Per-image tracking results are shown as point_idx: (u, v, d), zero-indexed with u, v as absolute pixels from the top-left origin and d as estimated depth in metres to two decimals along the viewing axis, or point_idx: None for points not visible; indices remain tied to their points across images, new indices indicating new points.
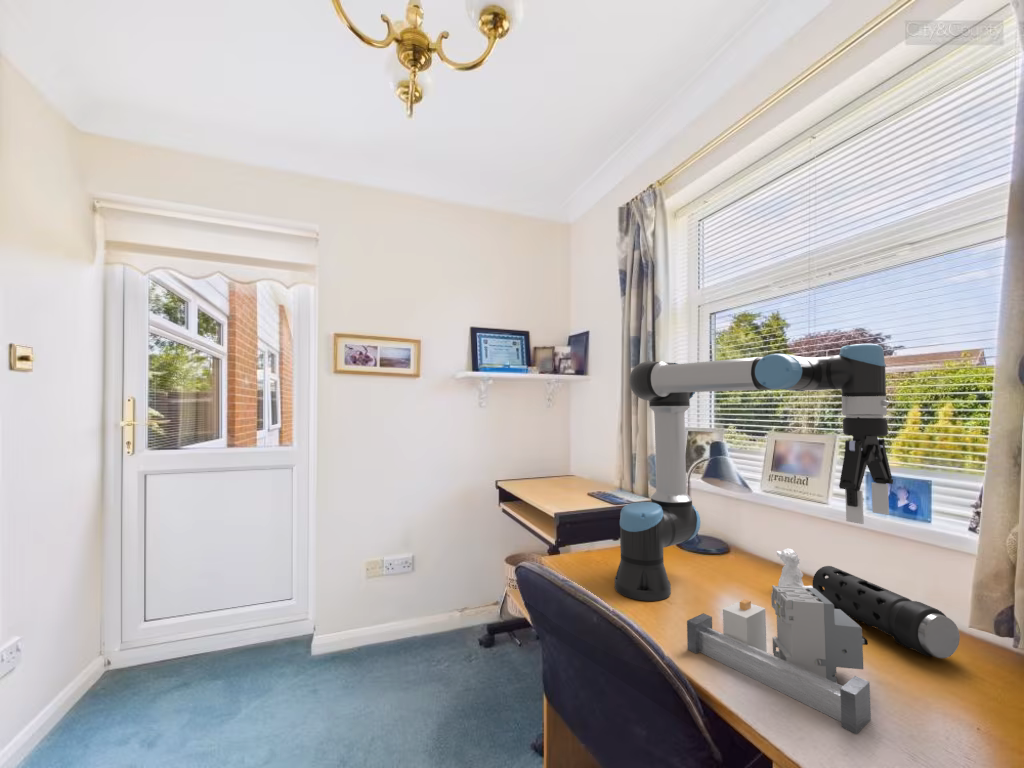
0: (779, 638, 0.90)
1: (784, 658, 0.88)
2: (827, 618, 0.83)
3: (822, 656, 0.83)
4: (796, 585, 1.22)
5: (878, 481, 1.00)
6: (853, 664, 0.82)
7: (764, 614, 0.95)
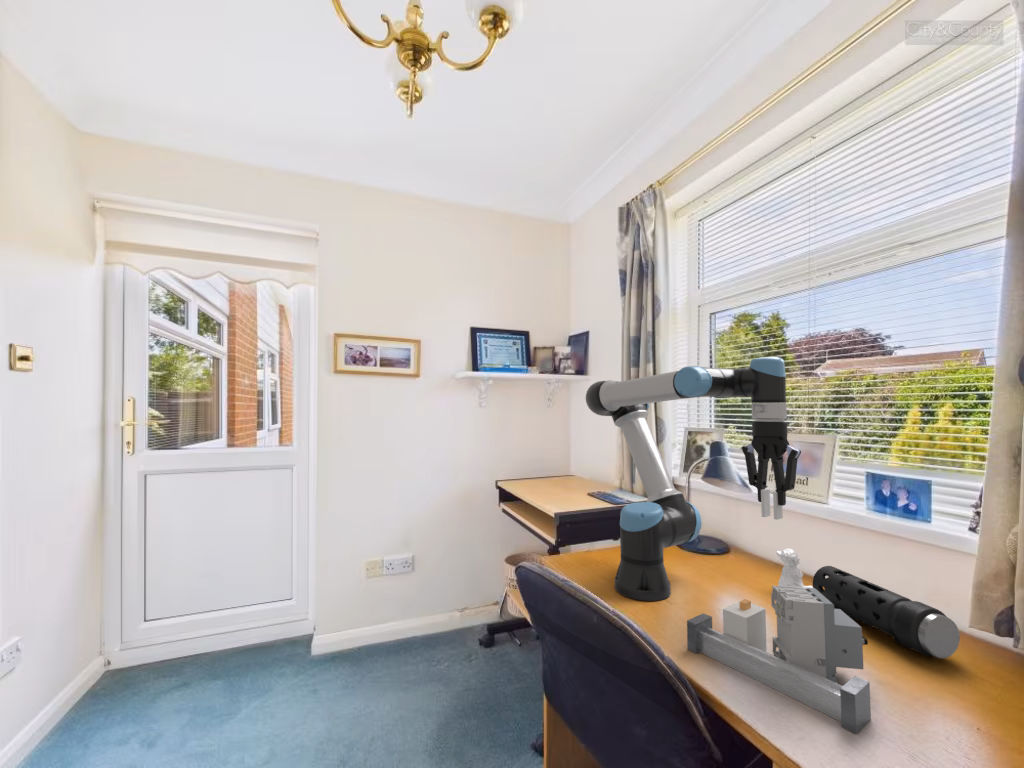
0: (779, 638, 0.90)
1: (784, 658, 0.88)
2: (827, 618, 0.83)
3: (822, 656, 0.83)
4: (796, 585, 1.22)
5: None
6: (853, 664, 0.82)
7: (764, 615, 0.95)
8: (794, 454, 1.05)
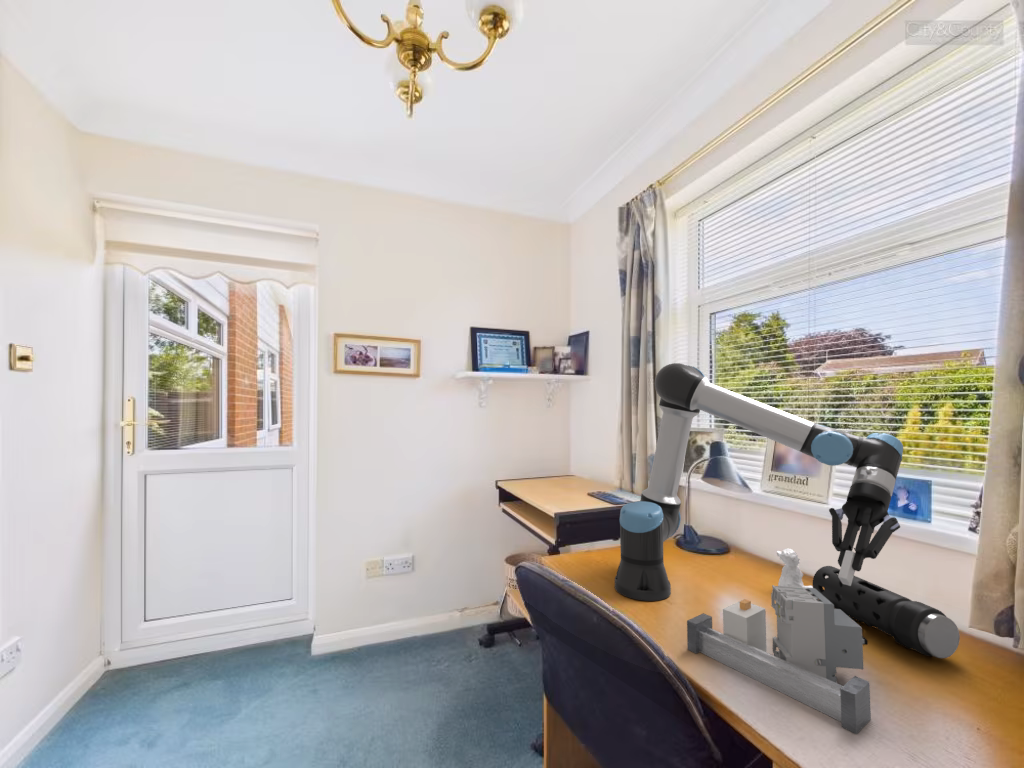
0: (779, 638, 0.90)
1: (784, 658, 0.88)
2: (827, 618, 0.83)
3: (822, 656, 0.83)
4: (796, 585, 1.22)
5: None
6: (853, 664, 0.82)
7: (764, 615, 0.95)
8: (893, 521, 0.96)
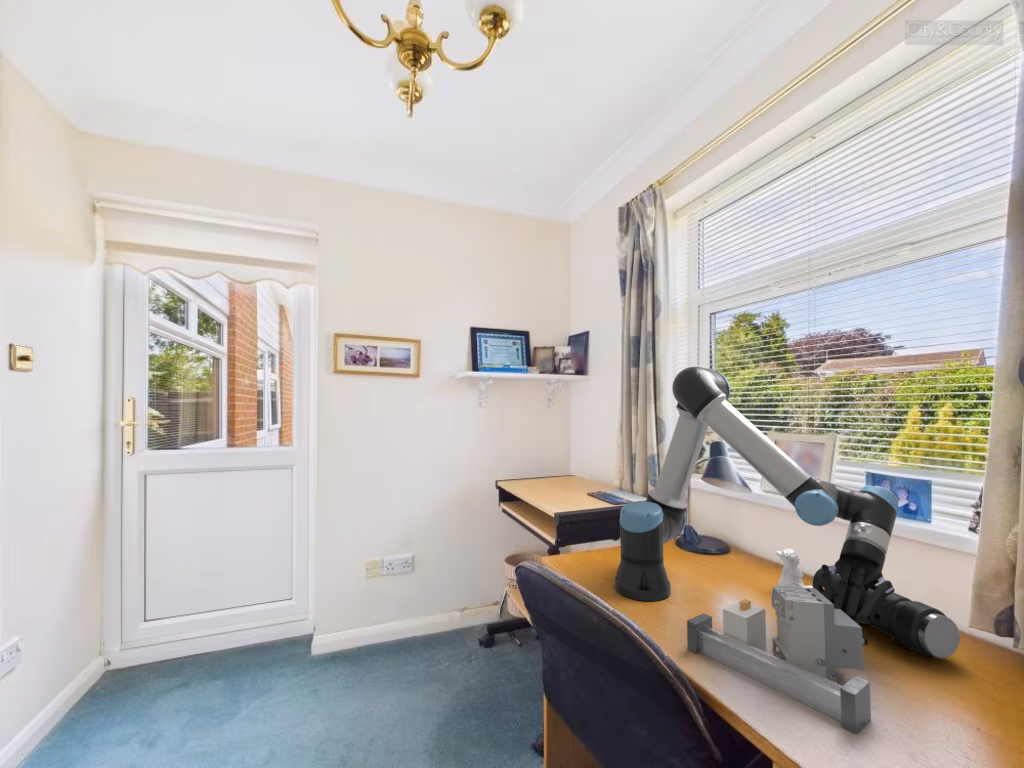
0: (779, 638, 0.90)
1: (784, 658, 0.88)
2: (827, 618, 0.83)
3: (822, 656, 0.83)
4: (796, 585, 1.22)
5: None
6: (853, 664, 0.82)
7: (764, 614, 0.95)
8: (888, 585, 0.92)
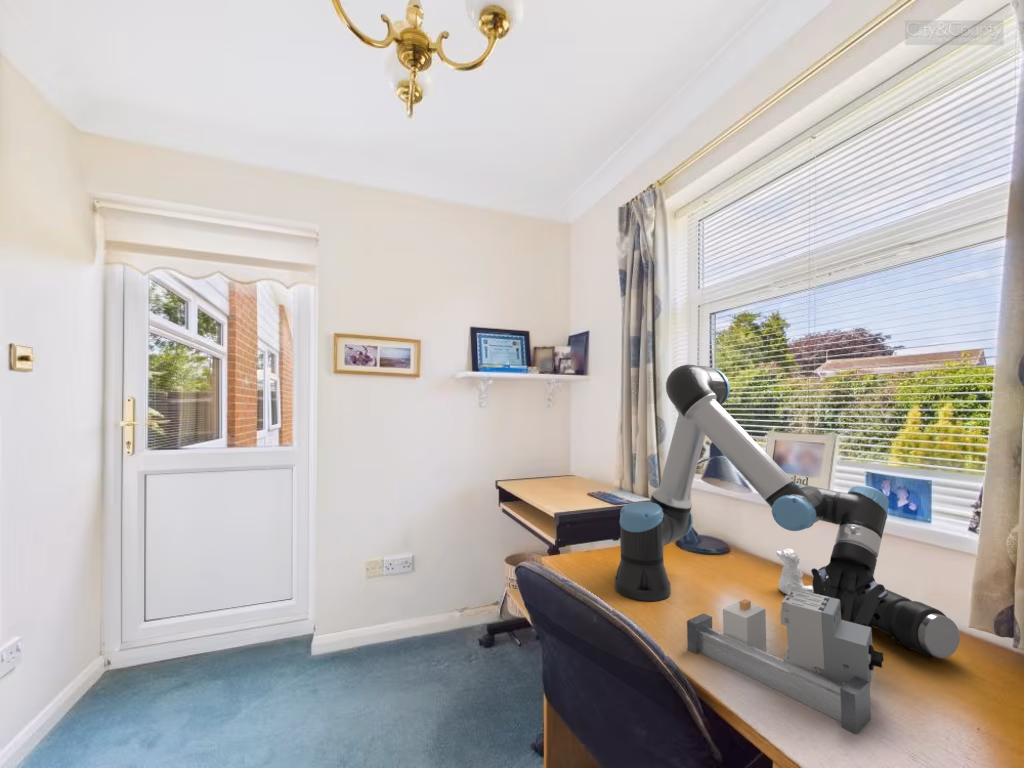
0: None
1: None
2: (825, 628, 0.79)
3: (821, 665, 0.80)
4: (796, 585, 1.22)
5: None
6: None
7: (764, 614, 0.95)
8: (880, 589, 0.88)
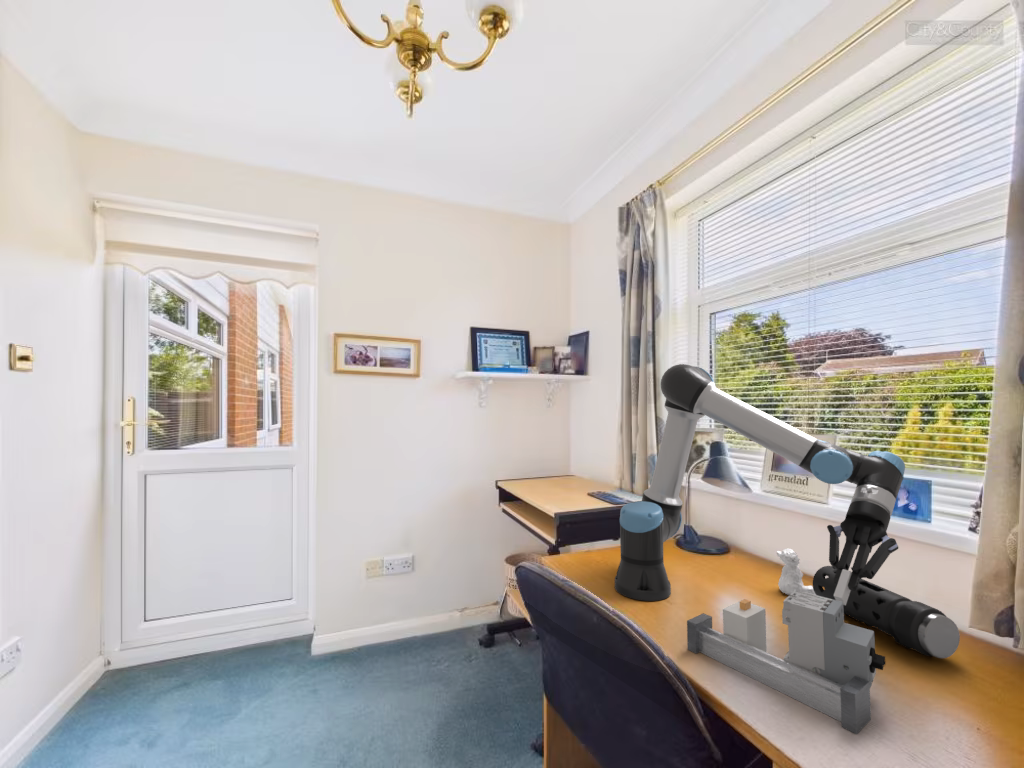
0: None
1: None
2: (826, 628, 0.80)
3: (821, 666, 0.80)
4: (796, 585, 1.22)
5: None
6: None
7: (764, 614, 0.95)
8: (892, 542, 0.95)
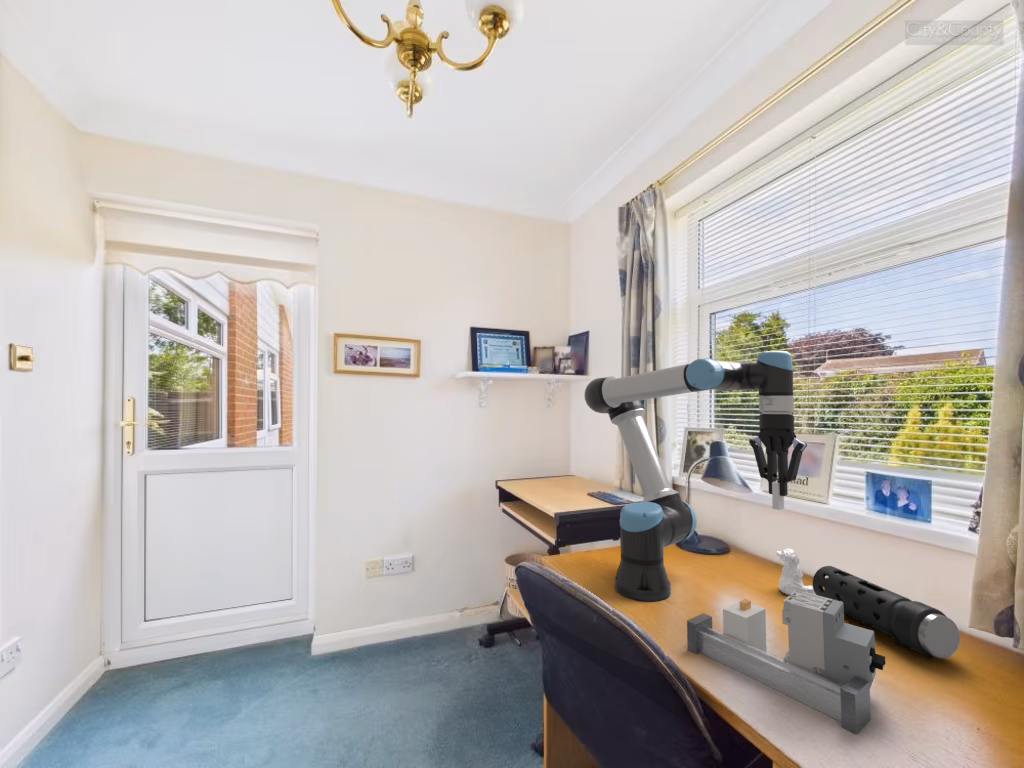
0: None
1: None
2: (826, 628, 0.80)
3: (821, 666, 0.80)
4: (796, 585, 1.22)
5: None
6: None
7: (764, 615, 0.95)
8: (800, 447, 1.07)
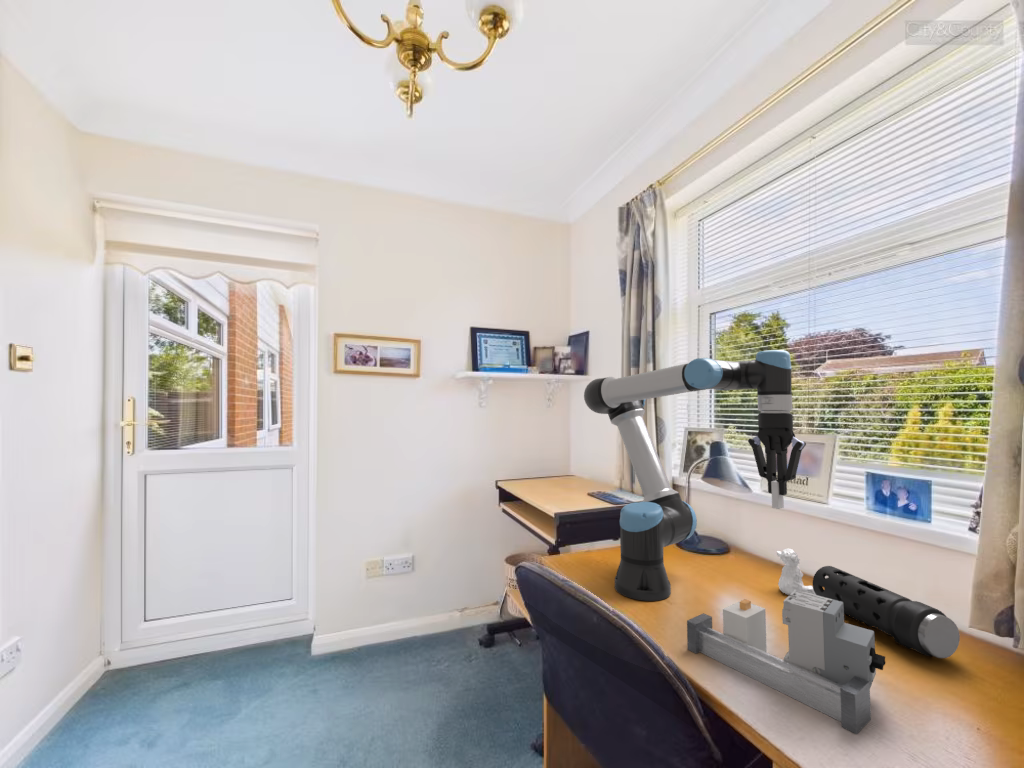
0: None
1: None
2: (826, 628, 0.80)
3: (821, 666, 0.80)
4: (796, 585, 1.22)
5: None
6: None
7: (764, 614, 0.95)
8: (799, 446, 1.07)
